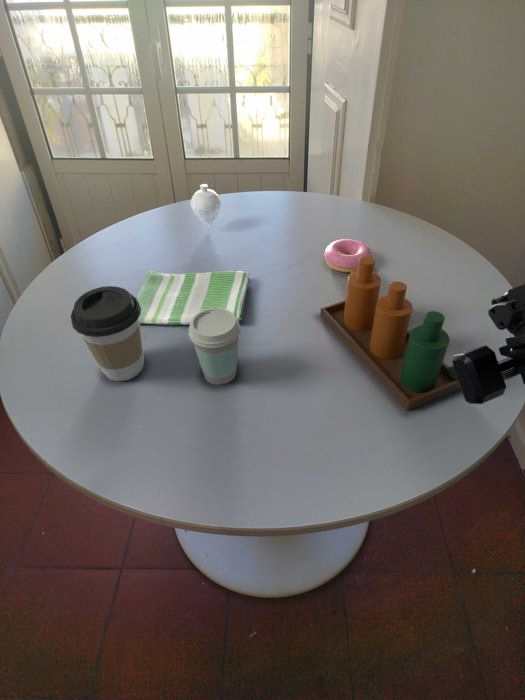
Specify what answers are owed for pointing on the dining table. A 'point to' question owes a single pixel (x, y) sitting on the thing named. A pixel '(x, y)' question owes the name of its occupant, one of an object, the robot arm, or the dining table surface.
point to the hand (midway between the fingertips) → (475, 361)
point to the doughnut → (346, 254)
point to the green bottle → (424, 354)
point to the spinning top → (206, 204)
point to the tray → (385, 361)
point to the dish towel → (190, 295)
